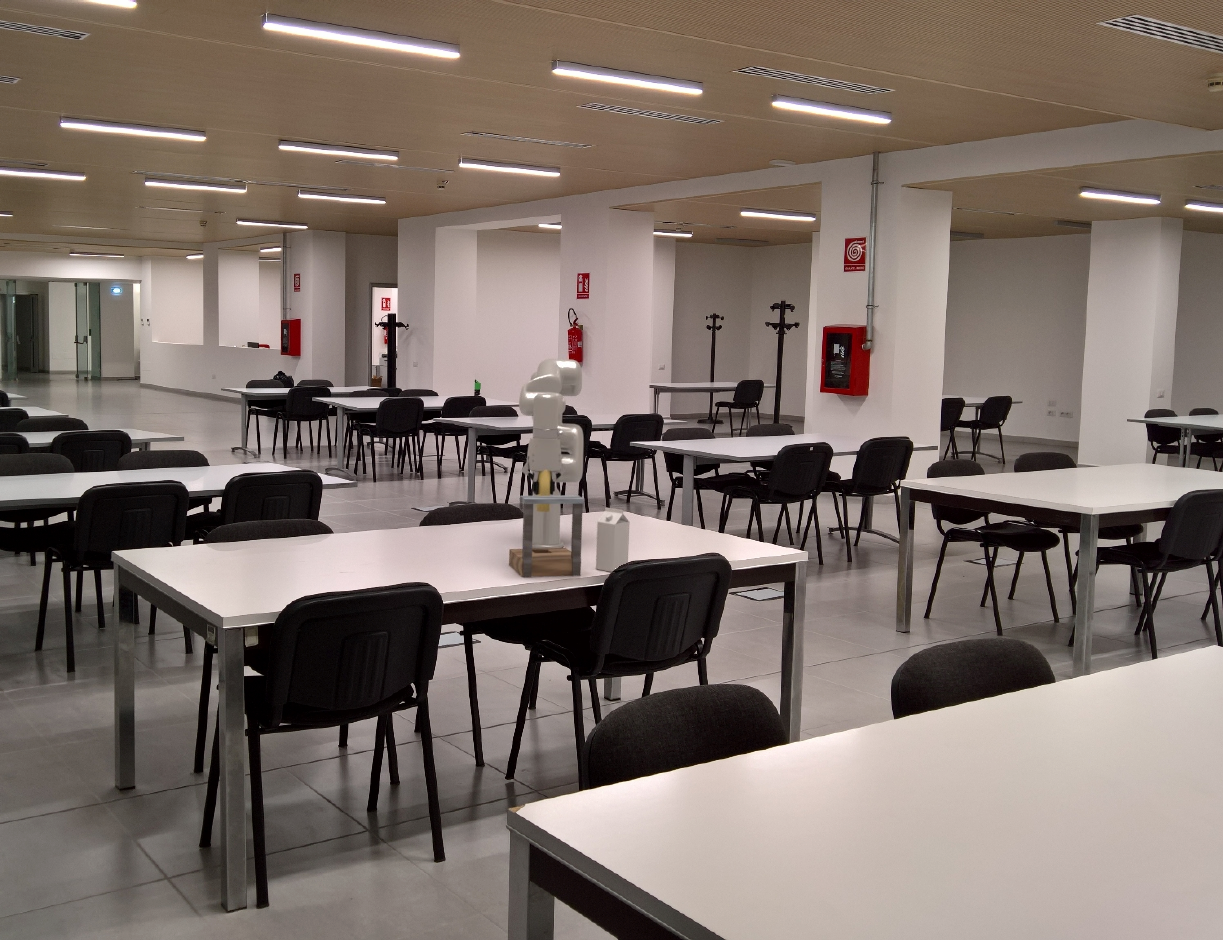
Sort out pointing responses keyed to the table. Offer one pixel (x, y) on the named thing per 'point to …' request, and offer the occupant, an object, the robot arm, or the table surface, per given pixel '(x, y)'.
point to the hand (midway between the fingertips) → (543, 493)
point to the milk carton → (612, 540)
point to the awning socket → (548, 559)
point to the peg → (544, 489)
